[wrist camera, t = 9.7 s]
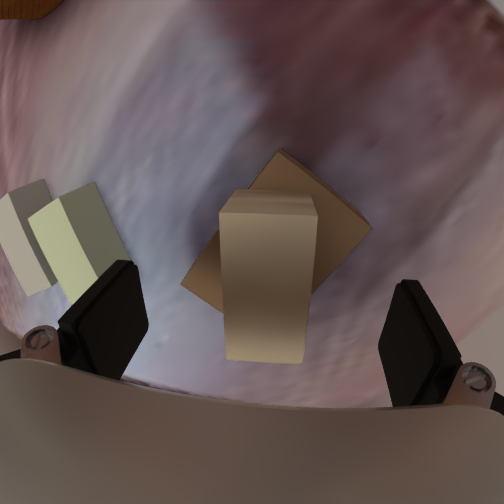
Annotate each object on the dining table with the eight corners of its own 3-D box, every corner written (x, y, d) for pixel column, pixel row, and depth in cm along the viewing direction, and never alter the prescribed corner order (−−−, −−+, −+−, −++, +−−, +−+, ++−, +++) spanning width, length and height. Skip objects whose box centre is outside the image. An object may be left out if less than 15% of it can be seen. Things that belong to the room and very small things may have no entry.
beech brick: (236, 189, 15) (218, 212, 11) (309, 191, 14) (317, 215, 11) (238, 311, 17) (226, 359, 14) (300, 315, 17) (302, 363, 13)
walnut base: (279, 147, 16) (277, 151, 14) (360, 211, 17) (372, 228, 15) (194, 261, 20) (180, 284, 17) (268, 311, 21) (265, 339, 18)
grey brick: (21, 196, 19) (-13, 212, 16) (44, 178, 18) (8, 192, 15) (56, 272, 22) (27, 296, 18) (82, 261, 21) (51, 286, 17)
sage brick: (63, 200, 19) (27, 218, 15) (95, 181, 18) (58, 197, 14) (104, 284, 21) (77, 313, 18) (139, 273, 20) (112, 303, 17)
